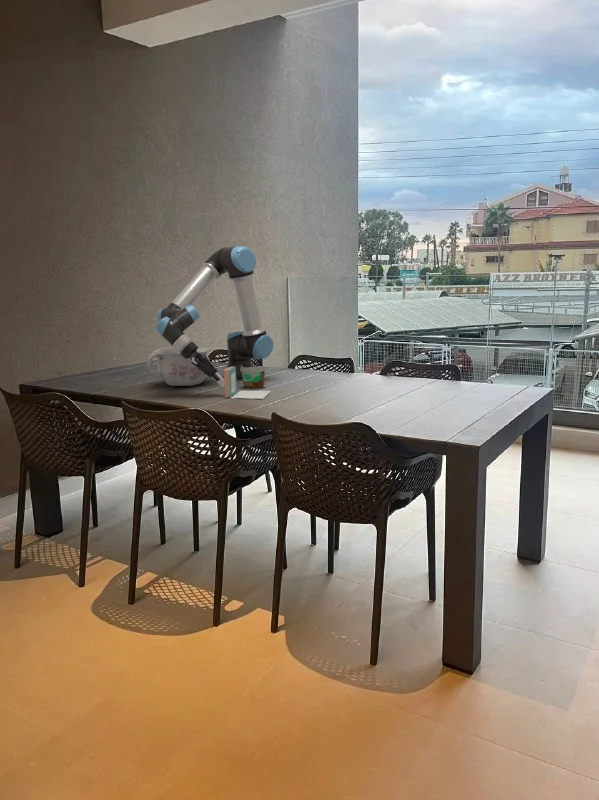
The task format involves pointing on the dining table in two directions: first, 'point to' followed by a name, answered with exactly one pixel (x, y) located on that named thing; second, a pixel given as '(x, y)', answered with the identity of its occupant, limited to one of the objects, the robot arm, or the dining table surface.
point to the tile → (230, 381)
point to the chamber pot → (177, 367)
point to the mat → (251, 394)
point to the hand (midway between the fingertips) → (225, 385)
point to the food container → (253, 376)
